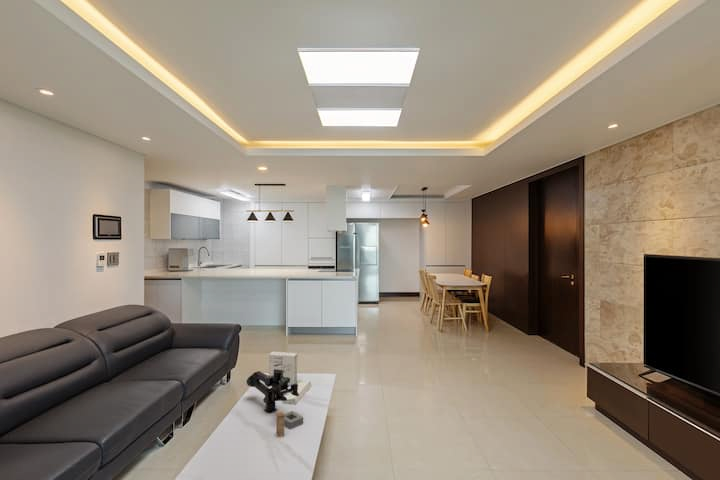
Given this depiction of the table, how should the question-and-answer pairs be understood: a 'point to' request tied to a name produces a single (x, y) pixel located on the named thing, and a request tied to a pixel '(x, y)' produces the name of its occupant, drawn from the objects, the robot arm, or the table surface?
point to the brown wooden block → (280, 423)
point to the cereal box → (284, 365)
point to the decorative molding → (302, 389)
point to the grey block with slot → (292, 420)
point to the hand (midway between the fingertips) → (292, 397)
